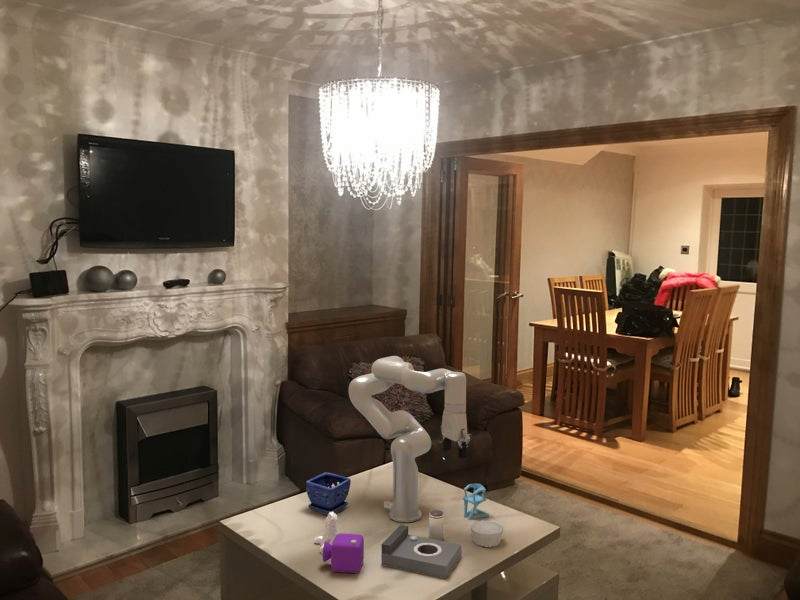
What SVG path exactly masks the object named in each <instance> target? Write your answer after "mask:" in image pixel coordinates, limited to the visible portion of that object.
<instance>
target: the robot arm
mask: <svg viewBox="0 0 800 600" xmlns="http://www.w3.org/2000/svg"><path fill="white" fill-rule="evenodd" d="M370 370H371V371H370V372H371V373H367V374H366V373H365V374H363V375H359V376H357V377H355V378H353V379H352V380H351V381H350V382H349V386H348V397H349V400H350V402H351V403H352V406H354V408H356V410H357V411H358V412H359V413H360V414H361V415H362V416H363V417H365V419H366V420H367V421H368V422H369V423H370V424H371V425H370V426H372V427H373V428H374V429H375V431H376V432H377V433H378V434H379V435H380V436H381V437H382V438H383V439H385V440H390V439H394V440H393V441H392V442H391V444H390V453H391V461H392V493H393V494H392V501H391V502H390V501H388V500H387V501H386V500H384V501H383V509H387V510H389V512H388V517H389V519H391V520H392V521H394V522H398V523H414V522H416V521H419V520H421V518H422V516H423V512H422V511H421V510H420V509H419V468H418V465H417V463H416V458H417V457H420V456H422V455H424V454H426V453H428V452H429V451H430V449H431V447H432V440H431V437H430V435H429V433H428V432H427V431H426V429H425V428H424V427H423V426H422V425H421V424H420V423H419V422H418V421H417V419H416V418H414V416H413V415H412V414H410V412H408V411H406V410H403V409H402V410H401V409H399V410H396V411H391V410H389V409H388V408H387V407H386V406H385V405H384V404H383V403H382V402H381V401H380V400H378V399H376V398H374V397H373V395H377V394H378V395H379V394H382V393H385V392H386V391H387V390H388V389H389V388H390V387H392V386H393V385H394V384H396V385H397V384H398V385H403V386H404V388H406V389H408V390H409V391H412V392H416V393H421V394H422V393H423V394H432V393H435V392H438V391H442V390H443V391H444V409H443V412H442V420H441V425H440V430H441V435H442V437H441V438H442V442H443V443H442V445H443V447H442V451H444V452H446V451H447V452H448V451H451V450H452V442H455V443H456V442H457V443H458V446H459V447H458V451H457V452H458V454H457V457H458V459H459V460H462V459H466V458H468V457H467V455H468V450H467V448H468V447H469V444H470V441H471V437H470V435H469V434H468V420H467V375H466V374H465V373H464V372H461V371H460V372H459V371H452V370H449V369H446V368H443V367H442V368H437V369H432V370H428V371H417V370H415V369H414V366H413V364H412V363H411V362H407V361H406V362H405V361H404V359H403V358H402V357H400V356H398V355H391V356H386V357H382V358H378V359H376V360H375V361H374V362H373V363H372V366H371V369H370Z"/></svg>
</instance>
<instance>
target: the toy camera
mask: <svg viewBox="0 0 800 600" xmlns="http://www.w3.org/2000/svg"><path fill="white" fill-rule="evenodd" d="M364 547H365V541H364V535H362V534H357V533H345V532H344V533H339V534H337V535H336V537H335V539H334V541H333V543H332V545H331V544H330V543H329V542H327V541H325V543H324V546H323V548H322V551H321V553H320V554H321V556H322V561H323V563H325V562H328V561H329V560H330V567H331V570H332V572H336V573H348V574H349V573H352V574H356V573H359V572H360V570H361V569H362V565H363V563H364V558H365V554H364V553H365V551H364V550H365V549H364Z"/></svg>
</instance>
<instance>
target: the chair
mask: <svg viewBox="0 0 800 600" xmlns="http://www.w3.org/2000/svg"><path fill="white" fill-rule="evenodd" d="M470 488H473V492H472V493H471V494H469V495H468V493H467V490H468V489H470ZM486 490H487V489H486V488H485V486H484V485H482V484H481V483H470V484H468V485H466V487H464V488H463V492H464V496H462V500H463V503H464V504H463V506H464V507H463V518H467V517H468V520H469V519H470V520H475V519H483V518H487V517H489V515H490V514H489V513H488V512H486V511H483V510H481V509H479V508H478V506H479V505H480V504H482V503H483V502H486V501H487V497H485V493H486ZM481 492H482V494H481V495H479V493H481ZM469 503H470V504H471V505H473V507H472V508H471V509H469V511H468V506H469V505H468V504H469ZM475 512H478V513H479V514H474V513H475Z"/></svg>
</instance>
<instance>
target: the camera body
mask: <svg viewBox="0 0 800 600" xmlns="http://www.w3.org/2000/svg"><path fill="white" fill-rule="evenodd" d="M380 555H381V558H380V559H381V564H380V565H381V566H385V567H389V568H394V569H399V570H404V571H409V572H414V573H417V574H423V575H427V576H430V577H431V576H432V577H436V578H441V579H445V580H446V579H447V578H448V577H449V575H450V573H451V572H452V570H453V569H454V568H455V566H456V564H457V563H458V561H459V560H460V558H461V557H462V544H460V543H457V542H456V543H455V542H450V541H444V540H442V541H440V540H435V539H430V538H429V537H424V536H420V535H413V534H409V525H406V524H399V525H398V526H397V527H396V528H395V529H394V530H393V532H392V533H391V534H390V535H389V536H387V538H386V539H385V540H383V542H382V543H381V554H380Z"/></svg>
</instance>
